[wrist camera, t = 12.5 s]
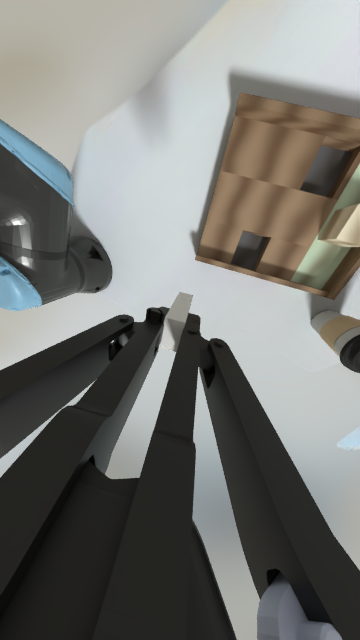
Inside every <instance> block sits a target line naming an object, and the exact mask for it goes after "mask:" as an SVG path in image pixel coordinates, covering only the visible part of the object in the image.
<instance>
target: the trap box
mask: <svg viewBox="0 0 360 640" xmlns="http://www.w3.org/2000/svg"><path fill="white" fill-rule="evenodd" d="M356 204H360V119H359V118H355V117H350V116H345V115H341V114H336V113H332V112H327V111H322V110H318V109H313V108H309V107H304V106H300V105H295V104H290V103H286V102H281V101H277V100H272V99H267V98H263V97H258V96H254V95H249V94H244V93H240V96H239V99H238V103H237V108H236V114H235V118H234V122H233V125H232V129H231V133H230V136H229V140H228V144H227V147H226V151H225V154H224V158H223V162H222V165H221V169H220V173H219V176H218V180H217V184H216V187H215V191H214V195H213V198H212V202H211V206H210V209H209V213H208V216H207V220H206V224H205V227H204V231H203V235H202V238H201V242H200V246H199V249H198V253H197V255H196V257H195V260H197V261H201V262H204V263H208V264H211V265H215V266H218V267H222V268H225V269H229V270H232V271H236V272H239V273H243V274H246V275H250V276H254V277H257V278H261V279H264V280H268V281H271V282H275V283H278V284H282V285H285V286H289V287H292V288H296V289H299V290H303V291H306V292H310V293H313V294H317V295H321V296H324V297H327V298H329V299H333V300H334V299H335V298H336V297H337V295H338V294H339V293H340V291H341V290H342V289H343V288H344V286H345V285H346V284H347V282H348V281H349V280H350V279H351V277H352V276H353V275H354V273H355V272H356V271H357V269H358V268H359V267H360V247H341V246H338V245H334V244H330V243H326V242H322V241H319V240H318V239H319V237H320V236H321V234H322V232H323V231H324V229H325V227H326V226H327V224H328V222H329V221H330V219H331V217H332V216H333V214H334V212H335V211H336V210H339V209H342V208H346V207H349V206H352V205H356Z"/></svg>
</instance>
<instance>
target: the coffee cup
mask: <svg viewBox="0 0 360 640" xmlns="http://www.w3.org/2000/svg"><path fill="white" fill-rule="evenodd" d="M311 326H312V327H313V328H314V329H315V330H316V332H317V333H318V334H319V335H320V336H321V338H322V339H323V340H324V341H325V342H326V343H327V344H328V345H329V346H330V348H331V349H332V350H333V351H334V352H335V353H336V354H337V355H338V356H340V361H341V363H342V364H343V365H344V366H345V367H347V368H349V369H350V370H352V371H354V372H357V373H360V320H358V319H355V318H352V317H350V316H345V315H342V314H339V313H336V312H334V311H330V310H326V311H322V312H320V313H318V314H317V315H315V316H314V317H313V319H312V321H311Z"/></svg>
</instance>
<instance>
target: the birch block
mask: <svg viewBox="0 0 360 640" xmlns="http://www.w3.org/2000/svg"><path fill="white" fill-rule="evenodd" d="M318 240H319V241H322V242H326V243H330V244H334V245H338V246H341V247H360V204H356V205H352V206H349V207H346V208H342V209H339V210H336V211H335V212H334V214H333V216H332V217H331V219H330V221H329V222H328V224H327V226H326V227H325V229H324V231H323V232H322V234H321V236H320V237H319V239H318Z"/></svg>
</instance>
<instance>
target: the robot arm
mask: <svg viewBox="0 0 360 640" xmlns="http://www.w3.org/2000/svg"><path fill="white" fill-rule="evenodd" d="M73 207H74V203H73V179H72V176H71V174H70V172H69V171H68V169H67V168H66V167H65V166H64V165H63V164H62V163H61V162H59V161H58V160H57V159H55V158H54V157H53V156H52V155H50V154H48V153H47V152H46V151H45V150H43V149H42V148H41V147H39V146H38V145H36V144H35V143H34V142H32V141H31V140H29V139H28V138H27V137H25V136H24V135H22V134H21V133H19V132H18V131H17V130H15V129H13V128H12V127H11V126H9V125H8V124H6V123H5V122H4V121H2V120H1V119H0V307H1V308H3V309H7V310H11V311H21V310H25V309H29V308H32V307H38V306H41V305H44V304H46V303H49V302H52V301H55V300H57V299H60V298H63V297H66V296H68V295H71V294H74V293H97V292H99V291H102V290H104V289H105V288H107V287H108V285H109V284H110V282H111V279H112V266H111V262H110V260H109V257H108V255H107V254H106V252H105V251H104V249H103V248H102V247H101V246H100V245H99V244H98V243H96V242H95V241H93V240H92V239H89V238H86V237H78V236H74V237H70V229H71V219H72V209H73ZM192 297H193V295H190V294H186V293H182V292H179V294H178V296H177V298H176V299H175V301H174V303H173V305H172V306H171V308H166V307H160V308H148V309H147V313H146V320H145V321H144V322H134V318H133V317H131V316H129V315H118V316H116V317H113V318H111V319H109V320H107V321H105V322H103V323H101V324H98V325H96V326H94V327H92V328H90V329H88V330H86V331H84V332H82V333H79V334H77V335H75V336H73V337H71V338H69V339H66V340H64V341H62V342H60V343H58V344H56V345H54V346H51V347H49V348H47V349H45V350H43V351H41V352H39V353H36V354H34V355H32V356H30V357H28V358H26V359H24V360H21V361H19V362H17V363H15V364H13V365H11V366H9V367H7V368H4V369H2V370H0V458H1V457H3V456H4V455H5V454H6V453H8V452H9V451H10V450H11V449H12V448H14V447H15V446H16V445H17V444H19V443H20V442H21V441H22V440H23V439H25V438H26V437H27V436H28V435H30V434H31V433H32V432H33V431H34V430H36V429H37V428H38V427H39V426H40V425H41V424H43V423H44V422H45V421H47V420H48V419H49V418H50V417H51V416H53V415H54V414H55V413H56V412H57V411H58V410H60V409H61V408H62V407H63V406H65V405H66V404H67V403H68V402H70V401H71V400H72V399H73V398H74V397H76V396H77V395H78V394H79V393H81V392H82V391H83V390H84V389H85V388H87V387H88V386H89V385H90V384H91V383H93V382H94V381H95V380H96V379H97V380H96V381H95V382H94V383H93V384H92V386H91V387H90V388H89V389H88V391H87V392H86V393H85V394H84V395H83V397H82V398H81V399H80V401H79V402H77V404H75V405H74V406H67V407H65V408H63V409H62V410H61V411H60V412H59V413H58V414H57V415H56V416H55V417H54V418H53V419H52V420H51V421H50V422H49V423H48V425H47V426H46V427H45V428H44V429H43V430H42V431H41V433H40V434H39V435H38V436H37V437H36V438H35V439H34V440H33V442H32V443H31V444H30V445H29V446H28V447H27V448H26V449H25V451H24V452H23V453H22V454H21V455H20V456H19V457H18V459H17V460H16V461H15V462H14V463H13V464H12V465H11V467H10V468H9V469H8V470H7V471H6V472H5V473H4V474H3V475H2V477H1V478H0V640H237V639H236V636H235V633H234V630H233V627H232V624H231V622H230V619H229V616H228V613H227V610H226V607H225V604H224V601H223V598H222V596H221V593H220V590H219V587H218V584H217V581H216V578H215V575H214V572H213V569H212V566H211V564H210V561H209V558H208V555H207V552H206V549H205V546H204V543H203V541H202V538H201V536H200V533H199V531H198V529H197V527H196V525H195V523H194V521H193V519H192V512H193V494H194V476H195V458H196V456H195V455H196V454H195V453H196V449H195V443H194V442H193V429H194V415H195V402H196V389H197V375H198V367H200V368H199V369H200V375H201V379H202V383H203V387H204V391H205V396H206V400H207V404H208V408H209V412H210V417H211V421H212V425H213V429H214V433H215V437H216V442H217V446H218V450H219V454H220V458H221V463H222V466H223V471H224V475H225V479H226V483H227V488H228V492H229V496H230V500H231V505H232V509H233V513H234V517H235V521H236V525H237V529H238V533H239V537H240V540H241V544H242V548H243V551H244V555H245V558H246V561H247V564H248V567H249V570H250V572H251V576H252V579H253V582H254V585H255V587H256V590H257V593H258V595H259V598H260V602H259V608H258V614H257V639H258V640H360V571H359V569H358V568H357V566H356V565H355V564H354V562H353V561H352V560H351V558H350V557H349V556H348V554H347V553H346V552H345V550H344V549H343V547H342V546H341V545H340V543H339V542H338V541H337V539H336V538H335V537H334V535H333V533H332V532H331V530H330V528H329V526H328V525H327V523H326V521H325V519H324V517H323V515H322V514H321V512H320V510H319V508H318V506H317V505H316V503H315V501H314V499H313V497H312V496H311V494H310V492H309V490H308V489H307V487H306V485H305V483H304V481H303V479H302V478H301V476H300V474H299V472H298V470H297V469H296V467H295V465H294V463H293V461H292V460H291V458H290V456H289V455H288V452H287V451H286V449H285V447H284V445H283V443H282V442H281V440H280V438H279V436H278V434H277V433H276V431H275V429H274V427H273V425H272V424H271V422H270V420H269V418H268V416H267V415H266V413H265V411H264V409H263V407H262V406H261V404H260V402H259V400H258V398H257V397H256V395H255V393H254V391H253V389H252V388H251V386H250V384H249V382H248V380H247V378H246V377H245V375H244V373H243V371H242V369H241V368H240V366H239V364H238V362H237V360H236V359H235V357H234V355H233V353H232V352H231V350H230V348H229V346H228V345H227V343H225V342H224V341H223V340H221V339H217V338H213V339H211V340H210V341H208V340H206V339H204V338H203V337H202V336H201V333H200V317H199V316H198V315H194V314H190V313H189V309H190V305H191V301H192ZM113 340H114V342H113V343H111V342H112V341H113ZM159 345H160V347H161V348H165V349H168V350H172V351H175V352H176V355H175V359H174V362H173V366H172V369H171V373H170V376H169V380H168V383H167V387H166V390H165V394H164V397H163V400H162V404H161V407H160V411H159V414H158V418H157V421H156V425H155V428H154V431H153V434H152V437H151V440H150V444H149V447H148V451H147V454H146V457H145V461H144V464H143V468H142V472H141V475H140V478H130V479H110V478H108V477H107V476H106V475H105V472H106V470H107V467H108V464H109V461H110V458H111V454H112V451H113V449H114V447H115V444H116V442H117V440H118V438H119V436H120V433H121V431H122V429H123V427H124V425H125V422H126V420H127V418H128V416H129V414H130V411H131V409H132V407H133V405H134V403H135V401H136V398H137V396H138V394H139V392H140V390H141V387H142V385H143V383H144V381H145V379H146V376H147V374H148V372H149V370H150V368H151V365H152V363H153V361H154V359H155V357H156V354H157V352H158V348H159Z"/></svg>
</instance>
